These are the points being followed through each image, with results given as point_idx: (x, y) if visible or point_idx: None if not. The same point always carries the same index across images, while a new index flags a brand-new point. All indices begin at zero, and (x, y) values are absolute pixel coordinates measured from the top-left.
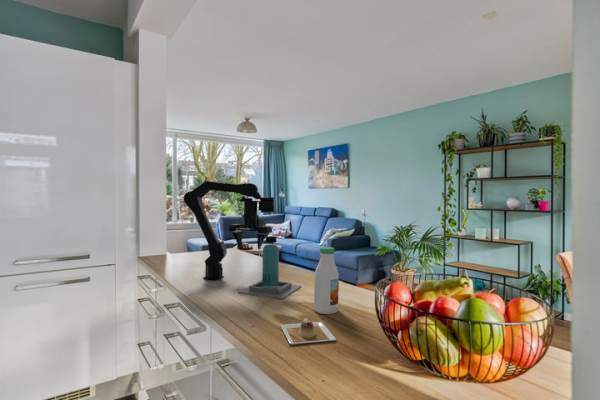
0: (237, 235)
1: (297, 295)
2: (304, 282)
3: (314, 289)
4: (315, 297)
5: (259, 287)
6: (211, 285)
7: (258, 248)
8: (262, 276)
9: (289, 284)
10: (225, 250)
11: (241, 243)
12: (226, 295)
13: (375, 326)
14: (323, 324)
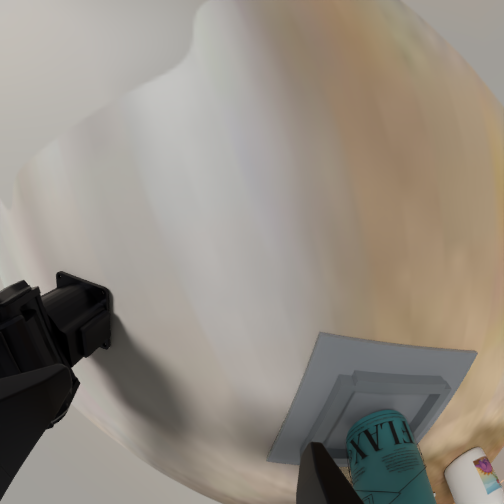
0: (2, 484)
1: (443, 425)
2: (495, 282)
3: (454, 498)
4: (450, 490)
5: (337, 460)
6: (140, 402)
7: (305, 469)
8: (348, 456)
9: (441, 403)
10: (16, 355)
11: (40, 394)
12: (242, 470)
13: (490, 463)
14: (434, 496)
